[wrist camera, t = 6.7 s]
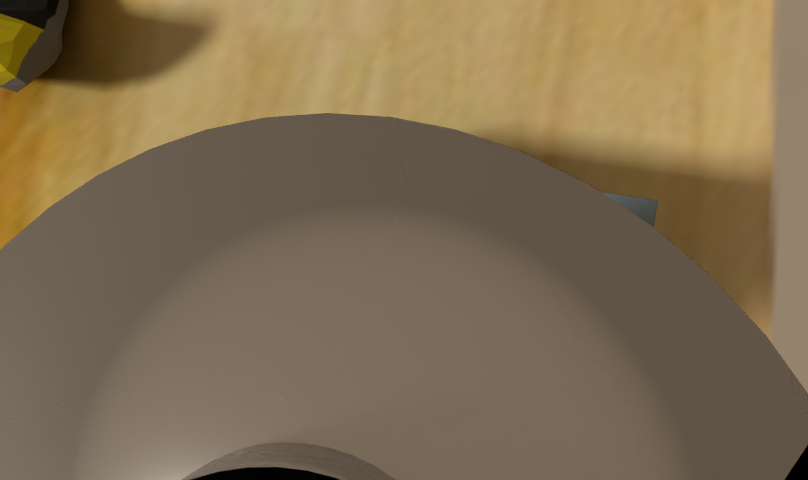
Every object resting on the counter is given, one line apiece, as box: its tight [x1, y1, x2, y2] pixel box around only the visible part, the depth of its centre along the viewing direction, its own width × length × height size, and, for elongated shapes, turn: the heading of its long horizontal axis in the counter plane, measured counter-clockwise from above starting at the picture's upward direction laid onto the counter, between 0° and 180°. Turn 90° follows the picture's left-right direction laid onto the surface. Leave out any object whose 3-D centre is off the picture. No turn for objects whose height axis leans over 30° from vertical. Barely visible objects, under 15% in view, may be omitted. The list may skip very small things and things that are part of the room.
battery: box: [0, 113, 808, 480], centre depth 8 cm, size 5×5×13 cm
